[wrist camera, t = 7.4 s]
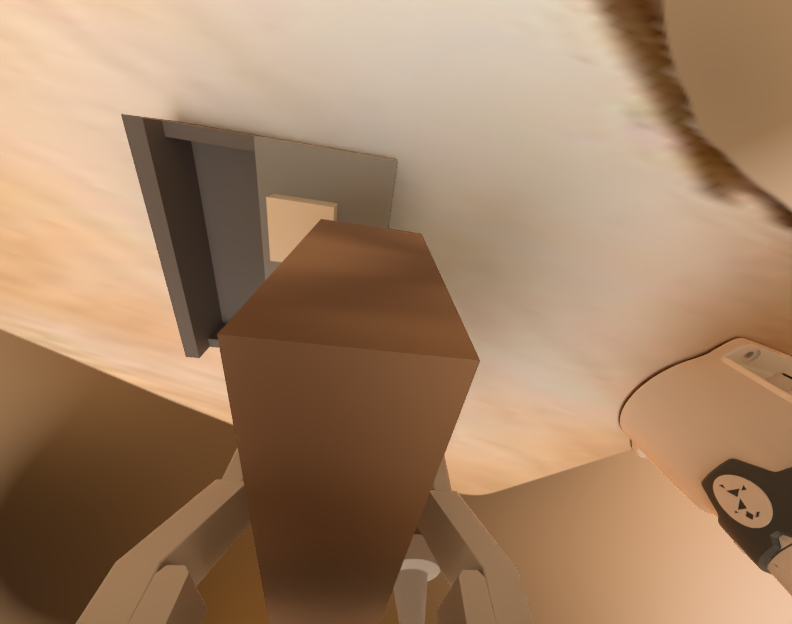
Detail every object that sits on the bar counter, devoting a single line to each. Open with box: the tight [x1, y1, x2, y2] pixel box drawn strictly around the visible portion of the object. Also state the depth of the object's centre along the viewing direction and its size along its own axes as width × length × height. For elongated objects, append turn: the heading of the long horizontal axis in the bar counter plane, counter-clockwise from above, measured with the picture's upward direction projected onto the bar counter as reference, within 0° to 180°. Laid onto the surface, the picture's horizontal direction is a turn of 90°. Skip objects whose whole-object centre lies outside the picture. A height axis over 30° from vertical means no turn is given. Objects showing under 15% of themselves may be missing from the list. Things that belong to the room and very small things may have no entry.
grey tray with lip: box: [121, 114, 397, 358], centre depth 21 cm, size 14×16×4 cm
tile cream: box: [266, 194, 338, 262], centre depth 19 cm, size 4×4×2 cm
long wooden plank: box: [217, 219, 480, 624], centre depth 9 cm, size 3×13×6 cm, turn 171°
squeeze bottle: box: [393, 526, 440, 624], centre depth 26 cm, size 8×8×18 cm
